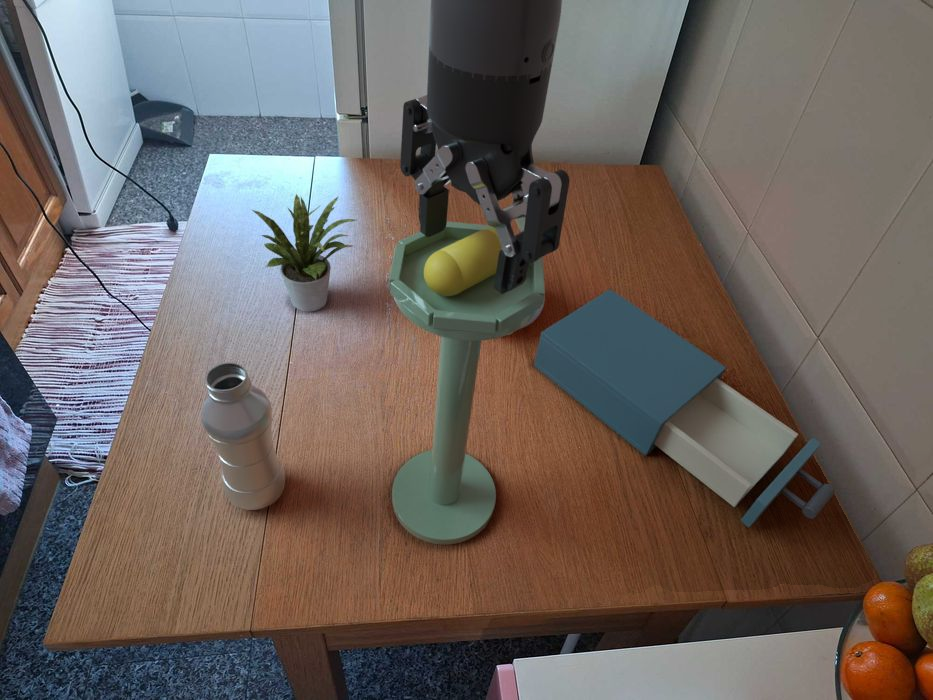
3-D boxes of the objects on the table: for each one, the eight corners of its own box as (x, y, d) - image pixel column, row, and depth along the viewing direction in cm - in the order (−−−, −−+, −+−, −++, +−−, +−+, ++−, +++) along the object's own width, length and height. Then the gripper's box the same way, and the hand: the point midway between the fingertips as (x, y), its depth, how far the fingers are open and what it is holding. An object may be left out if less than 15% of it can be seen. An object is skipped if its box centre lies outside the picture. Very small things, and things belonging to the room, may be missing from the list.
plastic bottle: (228, 471, 75) (190, 354, 61) (288, 465, 77) (265, 348, 62) (225, 521, 71) (182, 407, 57) (288, 513, 72) (263, 400, 58)
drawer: (836, 488, 80) (856, 466, 76) (782, 555, 73) (802, 534, 69) (682, 379, 90) (693, 355, 87) (623, 427, 84) (633, 403, 80)
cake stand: (515, 503, 76) (575, 277, 51) (438, 566, 69) (463, 343, 45) (448, 438, 81) (472, 207, 57) (371, 491, 75) (360, 257, 51)
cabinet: (708, 400, 89) (726, 367, 85) (645, 456, 82) (661, 423, 77) (599, 322, 99) (609, 288, 94) (533, 365, 91) (541, 331, 86)
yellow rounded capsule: (485, 238, 54) (501, 212, 51) (510, 271, 54) (528, 247, 51) (409, 275, 50) (422, 250, 47) (436, 311, 50) (450, 288, 47)
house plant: (382, 312, 96) (381, 221, 84) (298, 350, 90) (284, 256, 78) (332, 262, 103) (325, 171, 92) (251, 293, 97) (232, 199, 85)
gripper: (369, 16, 40) (374, 231, 52) (535, 106, 33) (498, 330, 45) (459, -4, 44) (445, 201, 56) (623, 74, 37) (568, 288, 49)
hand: (468, 258), depth 50 cm, fingers open, 8 cm apart
